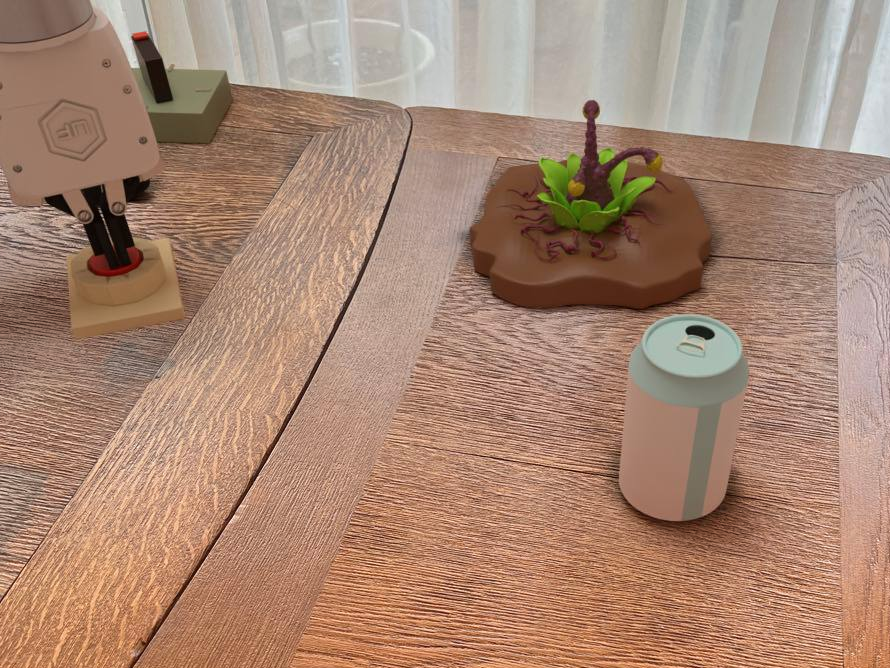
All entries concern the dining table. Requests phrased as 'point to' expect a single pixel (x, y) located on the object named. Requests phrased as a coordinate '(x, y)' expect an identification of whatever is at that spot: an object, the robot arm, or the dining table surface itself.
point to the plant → (591, 230)
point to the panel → (188, 105)
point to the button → (103, 269)
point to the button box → (124, 292)
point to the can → (682, 417)
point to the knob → (152, 67)
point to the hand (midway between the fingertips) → (117, 257)
